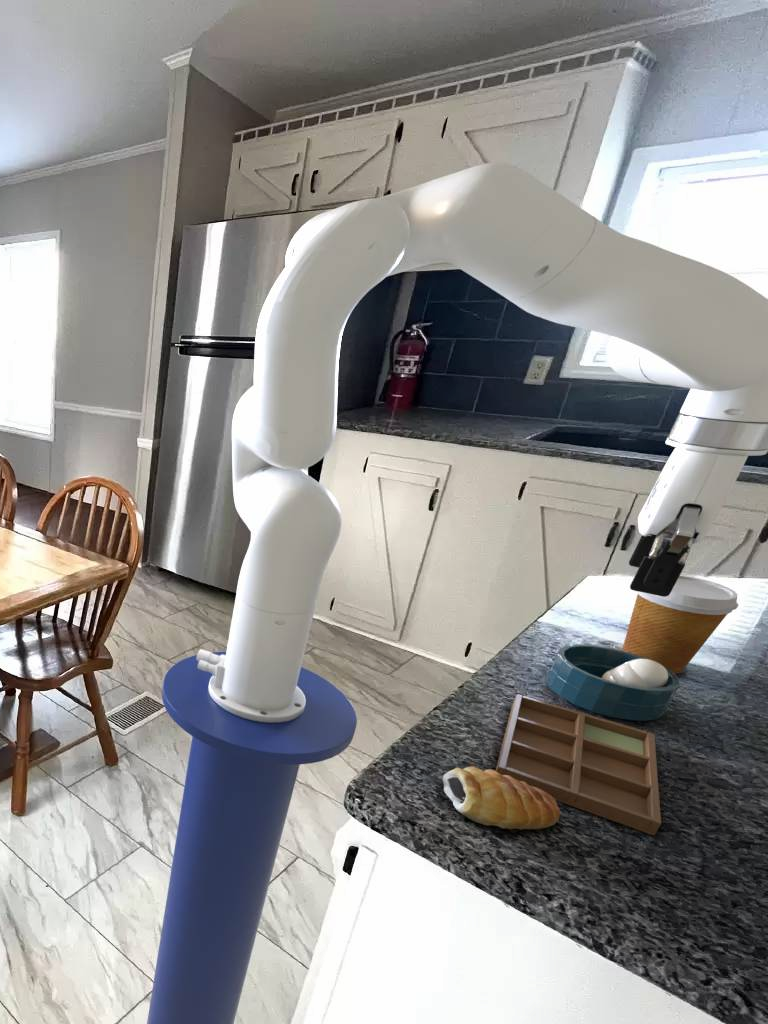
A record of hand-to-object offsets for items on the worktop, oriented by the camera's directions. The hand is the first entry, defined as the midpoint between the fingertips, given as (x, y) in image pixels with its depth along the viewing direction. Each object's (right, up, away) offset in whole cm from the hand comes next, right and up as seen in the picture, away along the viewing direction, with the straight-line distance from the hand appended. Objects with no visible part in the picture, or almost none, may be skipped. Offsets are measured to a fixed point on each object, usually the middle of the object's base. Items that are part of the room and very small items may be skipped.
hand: (646, 579), depth 75 cm
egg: (+2, -14, +7) cm, 16 cm away
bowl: (+2, -15, +7) cm, 17 cm away
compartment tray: (-12, -21, -3) cm, 24 cm away
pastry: (-27, -24, -9) cm, 37 cm away
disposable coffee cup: (+16, -12, +15) cm, 25 cm away
